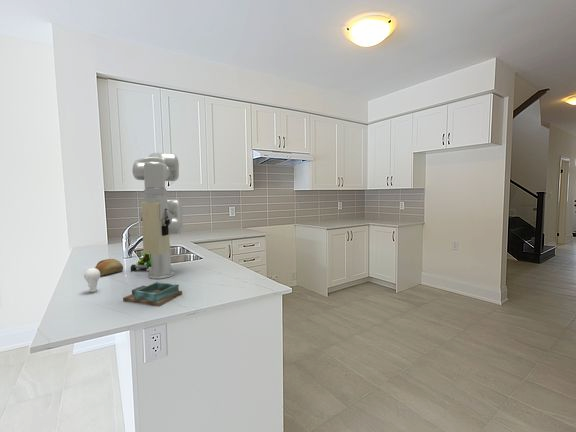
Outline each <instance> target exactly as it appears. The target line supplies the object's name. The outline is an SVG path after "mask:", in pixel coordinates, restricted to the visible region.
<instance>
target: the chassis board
mask: <svg viewBox="0 0 576 432" xmlns="http://www.w3.org/2000/svg"><path fill="white" fill-rule="evenodd" d="M179 289H180V288H179V284H176V283H168V282H161V281H160V282H159V281H156V282H153V283H150V284H149V285H140V286H139V287H136V288H134V289H131V294H129V295H126V296H124V297H122V299H123V300H122V301H123V302H125V303H126V302H127V303H133V304H139V305H146V306H147V305H148V306H154V307H161V306H163V305H164V304H166V303H168V302H170V301H171V300H174V299H176V298H178V297H180V296H182V295H183V293H182V292H183V291H182V290H179Z"/></svg>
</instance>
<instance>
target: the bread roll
mask: <svg viewBox="0 0 576 432" xmlns="http://www.w3.org/2000/svg"><path fill="white" fill-rule="evenodd" d="M94 268H96V269H98V270H99V271H100V277H101V276H105V275H110V274H114V273H119V272H121V271H123V269H124V266H123V264H122V263H121V261H120V260H117V259H116V258H115V259H114V258H106V259H103V260H100V261H98V262H97V264H96V266H95V267H94Z"/></svg>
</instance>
